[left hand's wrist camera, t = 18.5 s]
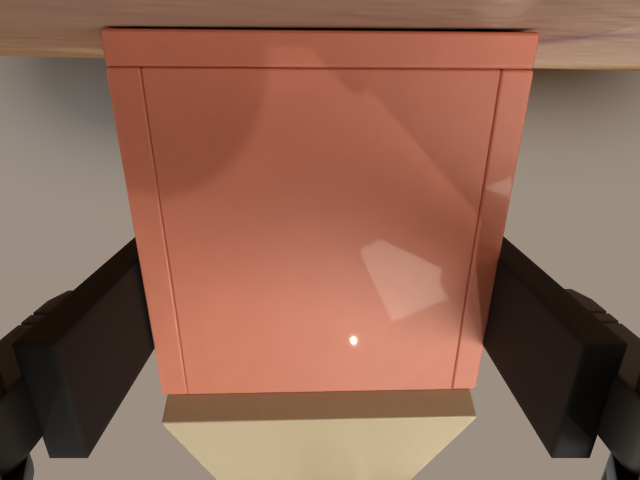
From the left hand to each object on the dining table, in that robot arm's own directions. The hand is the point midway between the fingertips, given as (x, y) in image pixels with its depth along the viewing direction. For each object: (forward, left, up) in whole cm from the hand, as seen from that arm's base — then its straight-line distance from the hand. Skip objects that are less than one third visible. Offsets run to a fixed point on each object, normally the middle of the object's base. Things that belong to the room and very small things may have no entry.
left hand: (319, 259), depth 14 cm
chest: (+3, -3, -6) cm, 8 cm away
